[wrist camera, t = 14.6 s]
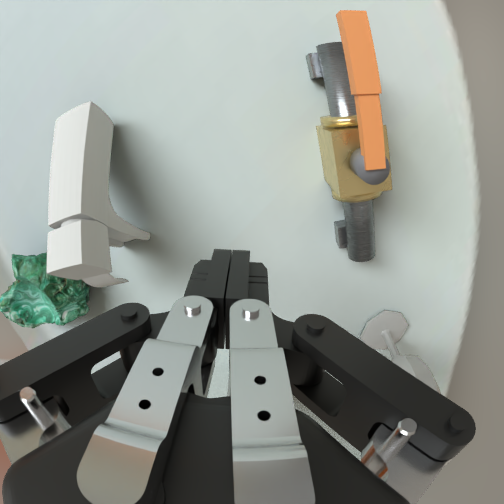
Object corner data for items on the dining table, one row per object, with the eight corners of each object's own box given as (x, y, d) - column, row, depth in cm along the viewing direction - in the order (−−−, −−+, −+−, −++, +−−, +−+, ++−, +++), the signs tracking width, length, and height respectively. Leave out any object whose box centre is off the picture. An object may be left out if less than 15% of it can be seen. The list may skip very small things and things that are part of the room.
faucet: (91, 98, 29) (82, 268, 25) (149, 157, 45) (160, 286, 40) (53, 119, 30) (39, 279, 25) (115, 169, 46) (122, 293, 41)
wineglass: (414, 319, 49) (463, 411, 30) (383, 352, 52) (417, 445, 34) (383, 301, 47) (433, 402, 28) (350, 337, 50) (381, 440, 32)
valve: (373, 237, 42) (393, 265, 35) (333, 245, 43) (347, 275, 35) (347, 48, 30) (369, 37, 23) (300, 53, 31) (311, 40, 24)
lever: (379, 175, 30) (393, 184, 26) (351, 178, 30) (362, 188, 27) (358, 19, 22) (370, 11, 19) (327, 20, 23) (335, 10, 19)
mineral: (65, 328, 51) (43, 362, 43) (11, 271, 46) (-18, 300, 37) (114, 282, 46) (88, 321, 37) (49, 211, 41) (11, 238, 32)
